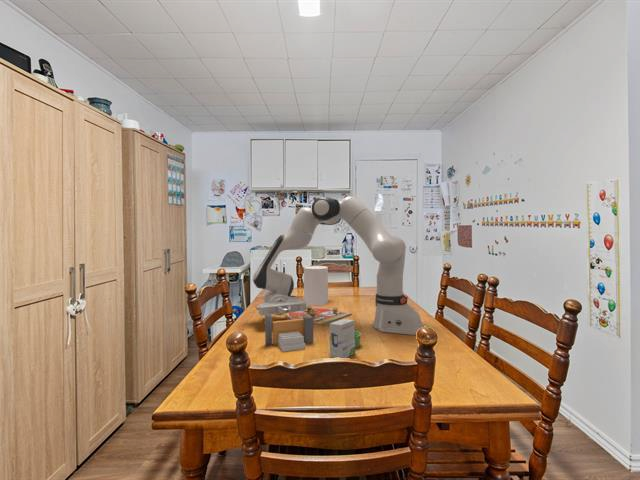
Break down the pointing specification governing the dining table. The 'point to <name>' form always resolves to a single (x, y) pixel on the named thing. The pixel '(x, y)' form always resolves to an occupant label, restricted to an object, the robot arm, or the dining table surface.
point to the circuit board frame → (290, 335)
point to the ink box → (342, 338)
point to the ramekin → (357, 338)
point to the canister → (316, 285)
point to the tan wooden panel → (286, 328)
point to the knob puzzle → (319, 315)
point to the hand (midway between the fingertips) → (286, 311)
